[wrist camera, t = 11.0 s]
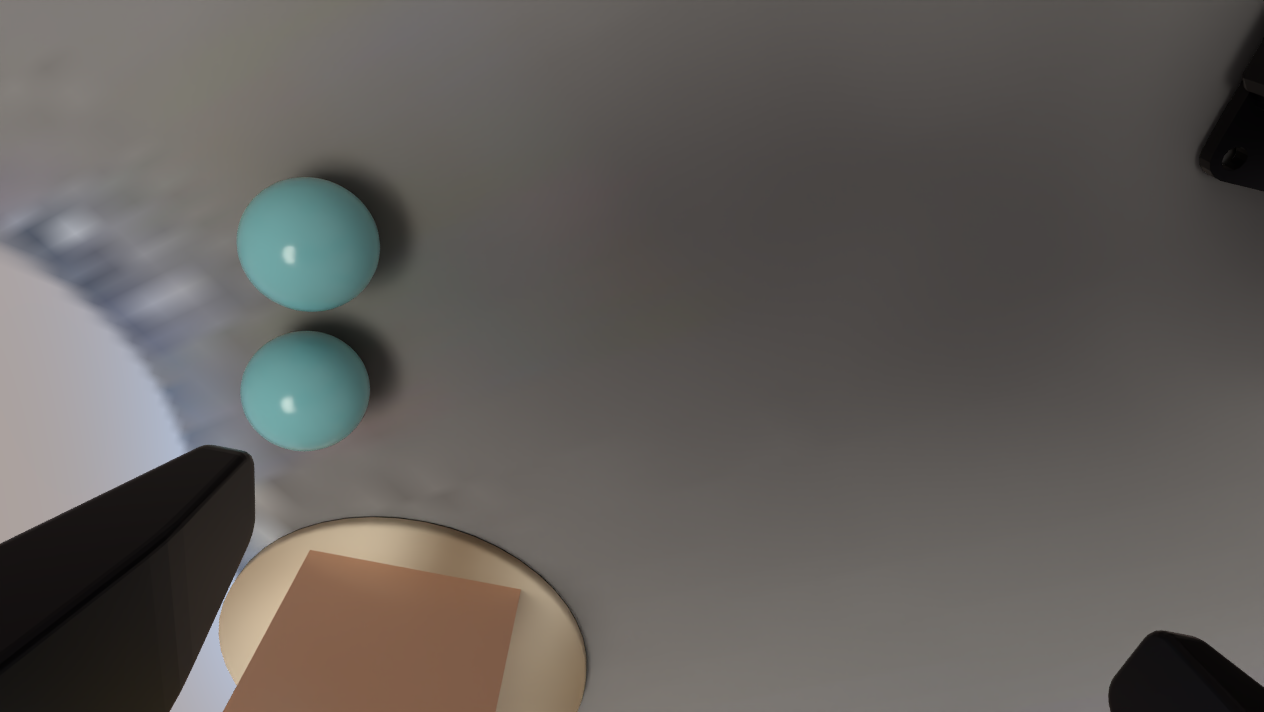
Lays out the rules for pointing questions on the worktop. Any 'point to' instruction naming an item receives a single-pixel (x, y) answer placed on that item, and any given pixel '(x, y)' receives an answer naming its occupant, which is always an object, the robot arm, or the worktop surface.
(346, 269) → the marble
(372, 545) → the coaster
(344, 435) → the marble
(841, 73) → the worktop surface
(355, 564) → the salmon pink block
